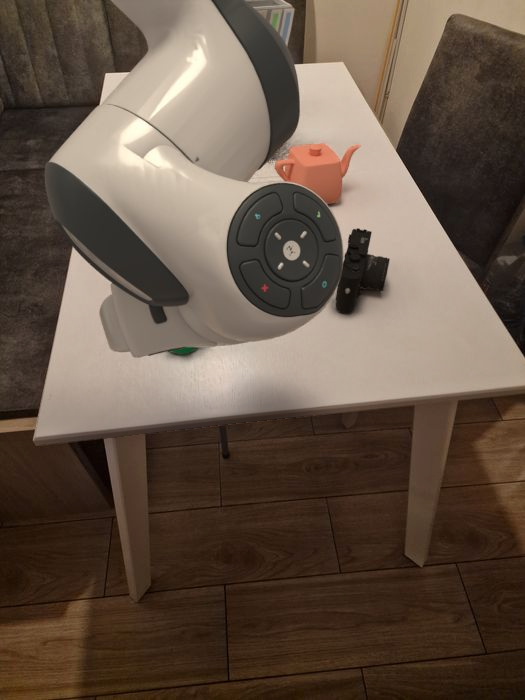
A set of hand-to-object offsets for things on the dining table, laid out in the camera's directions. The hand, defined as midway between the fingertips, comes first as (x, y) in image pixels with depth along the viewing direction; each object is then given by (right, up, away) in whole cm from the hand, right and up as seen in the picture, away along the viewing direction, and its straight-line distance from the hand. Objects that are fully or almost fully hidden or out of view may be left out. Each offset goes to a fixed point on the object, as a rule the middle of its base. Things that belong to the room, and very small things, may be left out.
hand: (197, 309), depth 53 cm
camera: (+23, +5, +26) cm, 36 cm away
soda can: (-4, -4, +18) cm, 19 cm away
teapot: (+18, +28, +48) cm, 59 cm away
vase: (+7, +42, +61) cm, 74 cm away
